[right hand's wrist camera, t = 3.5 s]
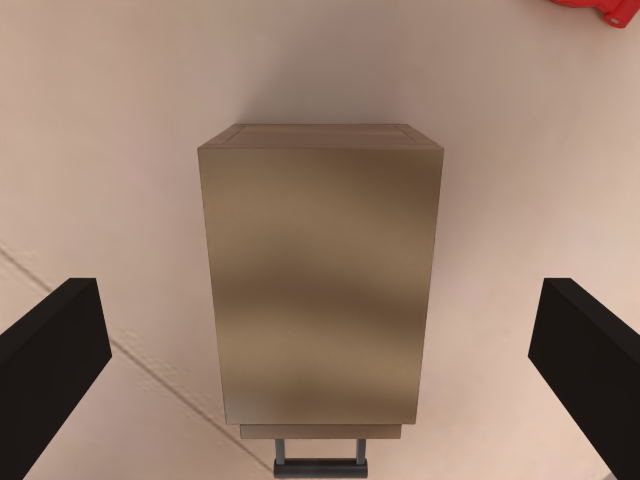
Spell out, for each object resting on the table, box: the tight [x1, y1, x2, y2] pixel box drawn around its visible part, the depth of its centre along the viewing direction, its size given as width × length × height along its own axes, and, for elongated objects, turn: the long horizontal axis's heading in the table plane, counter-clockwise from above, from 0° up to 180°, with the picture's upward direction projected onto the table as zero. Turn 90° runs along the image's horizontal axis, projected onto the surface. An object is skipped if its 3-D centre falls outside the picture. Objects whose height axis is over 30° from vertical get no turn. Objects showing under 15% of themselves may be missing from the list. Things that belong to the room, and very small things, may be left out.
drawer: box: [240, 424, 402, 478], centre depth 30 cm, size 21×10×7 cm, turn 0°
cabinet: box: [197, 124, 444, 424], centre depth 28 cm, size 17×12×9 cm
